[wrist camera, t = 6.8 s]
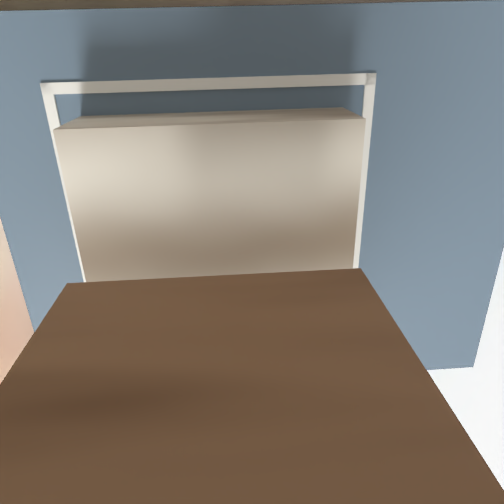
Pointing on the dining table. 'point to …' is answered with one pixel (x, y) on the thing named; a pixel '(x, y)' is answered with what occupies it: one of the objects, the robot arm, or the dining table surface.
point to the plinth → (213, 191)
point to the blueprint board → (285, 97)
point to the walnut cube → (230, 399)
